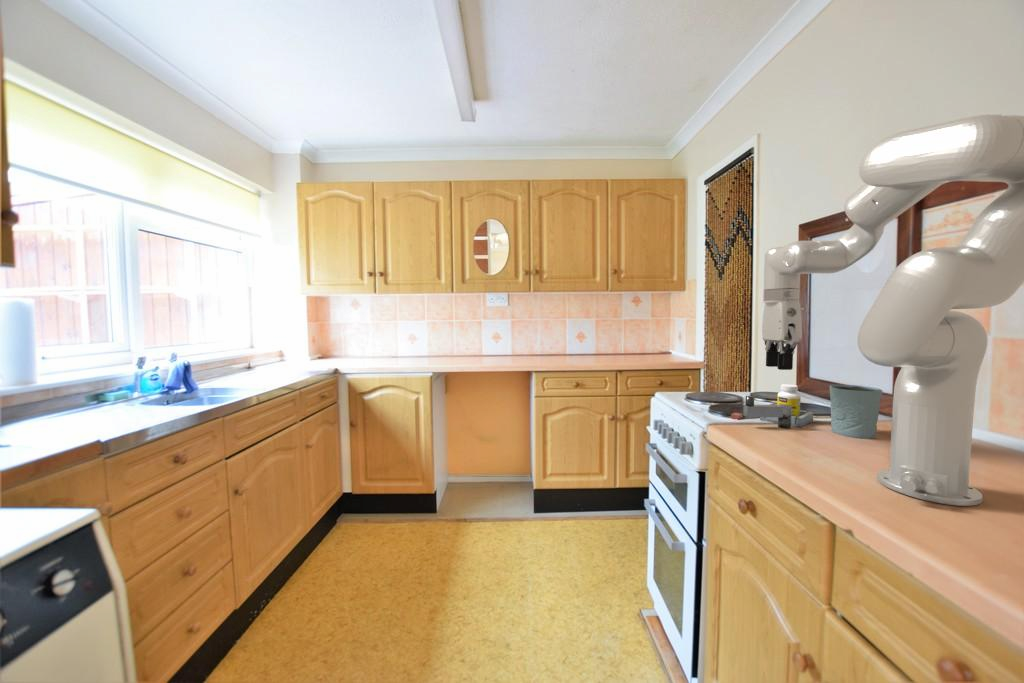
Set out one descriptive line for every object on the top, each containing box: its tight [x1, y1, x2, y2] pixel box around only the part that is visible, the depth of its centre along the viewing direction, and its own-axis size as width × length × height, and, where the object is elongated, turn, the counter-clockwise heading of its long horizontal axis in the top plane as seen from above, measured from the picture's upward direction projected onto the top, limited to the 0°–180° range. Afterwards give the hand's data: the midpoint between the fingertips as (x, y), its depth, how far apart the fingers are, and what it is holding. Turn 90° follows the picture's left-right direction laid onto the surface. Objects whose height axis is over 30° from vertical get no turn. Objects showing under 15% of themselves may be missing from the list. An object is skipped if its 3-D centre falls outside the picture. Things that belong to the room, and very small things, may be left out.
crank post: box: [730, 412, 792, 430], centre depth 110 cm, size 3×15×3 cm, turn 37°
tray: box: [759, 409, 814, 428], centre depth 112 cm, size 10×10×2 cm
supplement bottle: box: [776, 383, 801, 421], centre depth 111 cm, size 5×5×10 cm
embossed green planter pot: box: [829, 384, 883, 440], centre depth 99 cm, size 10×10×12 cm
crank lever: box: [742, 395, 792, 418], centre depth 106 cm, size 12×3×6 cm, turn 86°
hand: (778, 367), depth 99 cm, fingers open, 4 cm apart
